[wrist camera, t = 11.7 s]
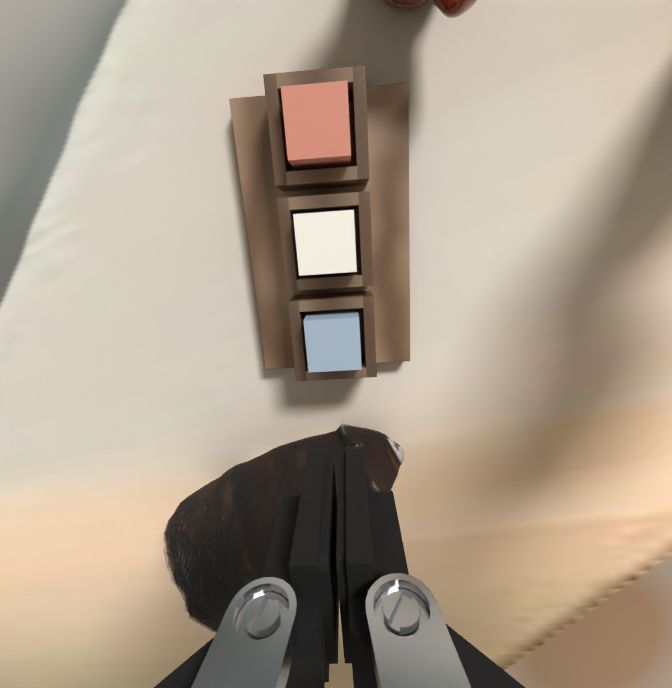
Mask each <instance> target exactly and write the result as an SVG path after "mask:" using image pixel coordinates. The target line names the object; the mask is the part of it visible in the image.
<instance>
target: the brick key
mask: <svg viewBox="0 0 672 688" xmlns="http://www.w3.org/2000/svg"><path fill="white" fill-rule="evenodd" d="M281 95H282V105H283V116H284V126H285V136H286V147H287V157H288V161H289V163H290V164H291V166H292V167H293V168H294V170H302V169H314V168H327V167H339V166H350V162H351V144H350V124H349V104H348V84H347V81H336V82H325V83H313V84H302V85H291V86H281Z"/></svg>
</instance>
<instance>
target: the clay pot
mask: <svg viewBox="0 0 672 688" xmlns="http://www.w3.org/2000/svg"><path fill="white" fill-rule="evenodd" d="M356 446H363V450H364V461H365V472H366V483H367V492H369V491H390V490H391V488H392V486H393V484H394V481H395V479H396V477H397V474H398V471H399V467H400V465H401V463H402V462H403V460H404V451H403V449H402V448H401V447H400V446H399V445H398V444H397V443H395V442H394V441H393V440H391V439H390V438H388V437H387V436H386V435H385V434H382V433H380V432H378V431H374V430H370V429H366V428H360V427H355V426H350V425H346V424H342V425H341V426H340V427H339V428H338V429H337V430H336V431H334V432H330V433H327V434H322V435H318V436H313V437H309V438H305V439H302V440H298V441H295V442H291V443H288V444H285V445H282V446H279V447H277V448H274V449H272V450H270V451H268V452H267V453H265V454H263V455H261V456H258V457H256V458H254V459H252V460H250V461H248V462H245V463H241V464H238V465H236V466H234V467H232V468H231V469H229V470H228V471H226V472H225V473H224V474H223V475H222V476H221V477H219V478H218V479H216V480H214V481H212V482H210V483H209V484H207V485H205V486H204V487H202V488H201V489H199V490H198V491H196V492H195V493H193V494H192V495H190V496H189V497H187V498H186V499H185V500H183V501H182V502H181V503H180V504H179V506H178V507H177V509H176V511H175V512H174V514H173V515H172V517H171V518H170V519H169V521H168V524H167V526H166V529H165V532H164V542H165V545H164V554H165V558H166V564H167V568H168V570H169V572H170V575H171V578H172V582H173V583H174V584H175V585H176V586H177V588H178V589H179V591H180V593H181V595H182V597H183V599H184V601H185V607H186V611H187V612H188V613H189V614H190V615H189V618H191V619H192V620H194V621H195V622H196V623H198V624H200V625H202V626H203V627H205V628H207V629H209V630H210V631H212V632H215V633H217V630H218V628H219V626H220V624H221V622H222V620H223V617H224V615H225V613H226V611H227V609H228V606H229V605H230V603H231V601H232V600H233V598H234V596H235V595H236V594H237V593H238V592H239V591H240V590H241V589H242V588H243V587H244V586H246V585H247V584H249V583H250V582H252V581H254V580H257V579H260V578H262V577H263V572H264V568H265V564H266V560H267V556H268V552H269V548H270V544H271V539H272V535H273V531H274V527H275V523H276V519H277V515H278V511H279V506H280V502H281V499H282V496H283V495H295V494H301V491H302V485H303V479H304V473H305V467H306V461H307V456H308V450H309V449H313V448H327V453H332V452H333V453H334V462H335V474H336V486H337V499H338V469H339V452H346V447H356Z"/></svg>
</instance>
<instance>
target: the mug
mask: <svg viewBox="0 0 672 688" xmlns="http://www.w3.org/2000/svg"><path fill="white" fill-rule="evenodd" d="M384 1H386V2H387V3H388V4H390V5H392V6H395V7H398V8H404V9H411V8H414V7H417V6H419V5H421V4H423V3H425V2H426V1H428V0H384ZM431 1H432V2H433V4H434V5H436V6H437V7H438V9H439V10H440V11H441V12H442V13H443V14H444V15H445V16H447V17H450V18H455V17H458V16H460V15H461V14H463V13H465V12H466V11H467V10H469V9H470V8H471V7H472V6H473V5H474V4H475V2H476V1H477V0H431Z"/></svg>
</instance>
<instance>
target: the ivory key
mask: <svg viewBox="0 0 672 688" xmlns="http://www.w3.org/2000/svg"><path fill="white" fill-rule="evenodd" d="M293 218H294V229H295V239H296V249H297V259H298V270H299V276H302V275H317V274H332V273H347V272H357V265H356V245H355V225H354V210H344V211H330V212H317V213H303V214H293Z"/></svg>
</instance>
